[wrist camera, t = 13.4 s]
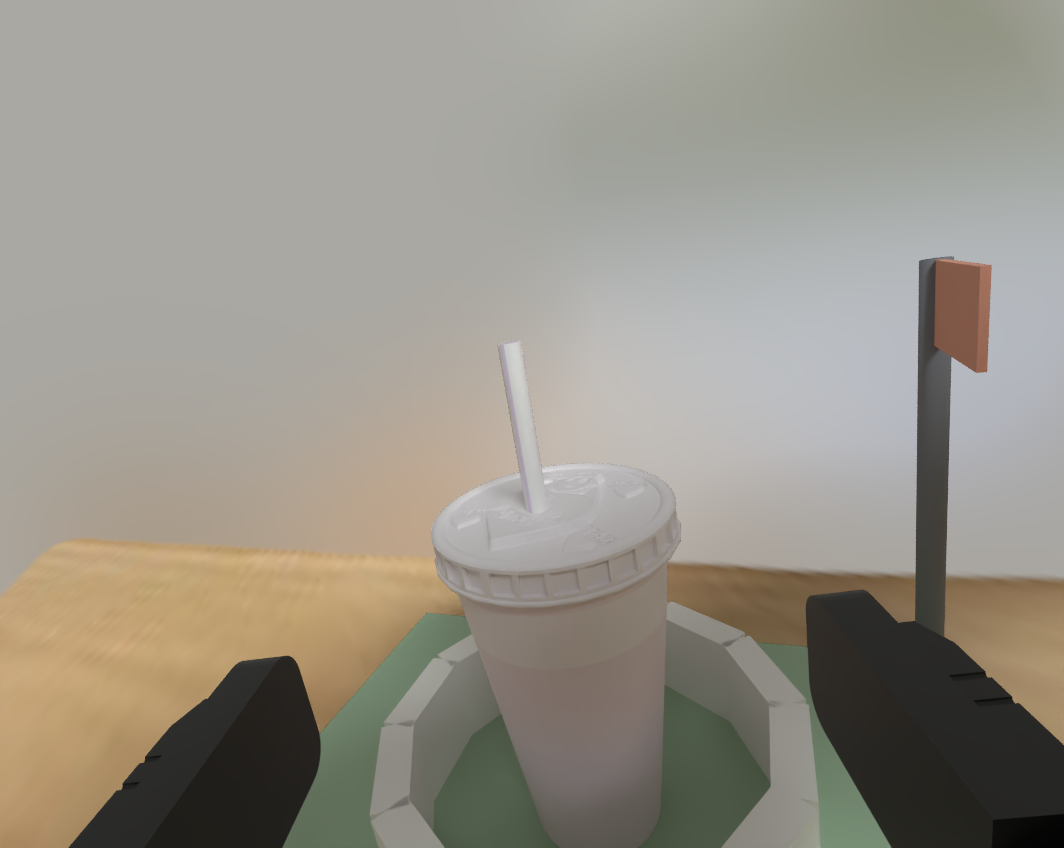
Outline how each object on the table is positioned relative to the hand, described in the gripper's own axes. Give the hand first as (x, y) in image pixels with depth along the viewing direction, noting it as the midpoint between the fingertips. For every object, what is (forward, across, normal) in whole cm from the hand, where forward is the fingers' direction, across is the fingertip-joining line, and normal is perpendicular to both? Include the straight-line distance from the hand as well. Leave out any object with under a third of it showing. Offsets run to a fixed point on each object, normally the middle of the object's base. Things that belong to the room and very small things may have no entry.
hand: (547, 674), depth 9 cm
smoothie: (+6, 0, +10) cm, 11 cm away
